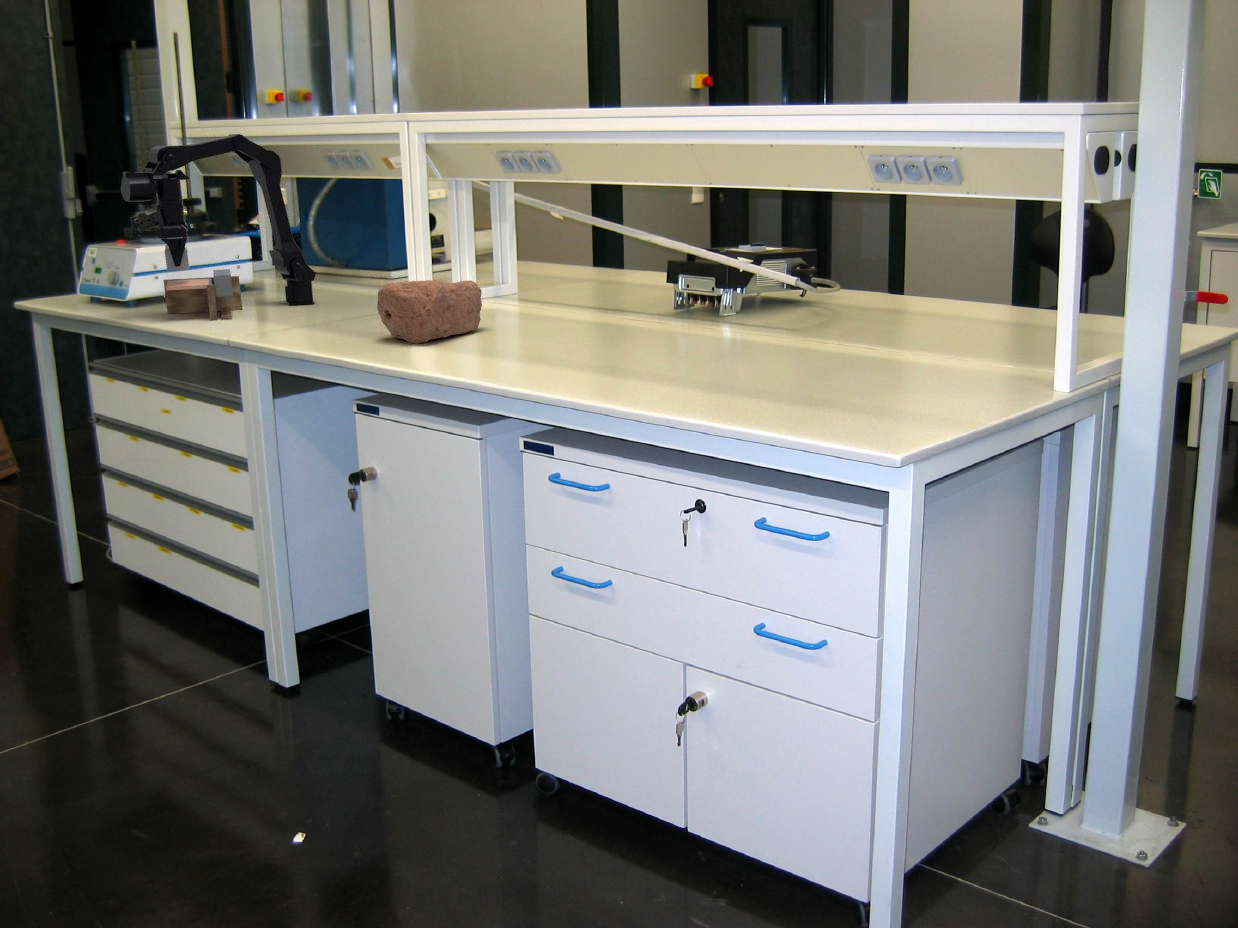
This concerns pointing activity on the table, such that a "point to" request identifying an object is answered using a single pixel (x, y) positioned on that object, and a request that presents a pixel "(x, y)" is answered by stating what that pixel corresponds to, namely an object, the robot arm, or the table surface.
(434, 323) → the stone
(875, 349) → the table surface
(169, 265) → the slate block
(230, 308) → the frame
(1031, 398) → the table surface
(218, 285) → the trapdoor
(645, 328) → the table surface
